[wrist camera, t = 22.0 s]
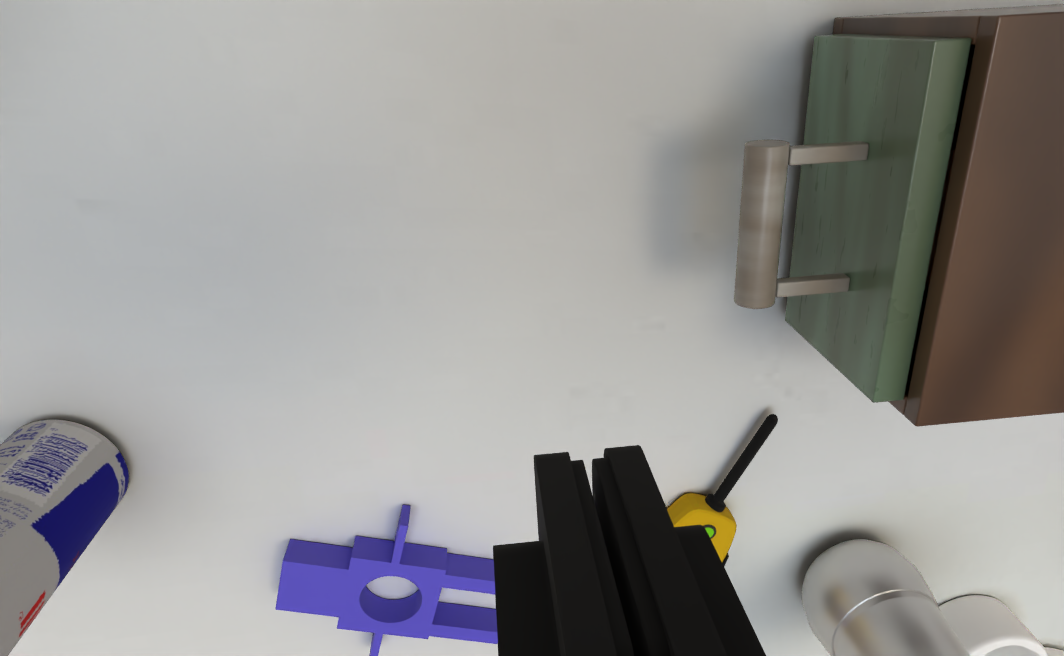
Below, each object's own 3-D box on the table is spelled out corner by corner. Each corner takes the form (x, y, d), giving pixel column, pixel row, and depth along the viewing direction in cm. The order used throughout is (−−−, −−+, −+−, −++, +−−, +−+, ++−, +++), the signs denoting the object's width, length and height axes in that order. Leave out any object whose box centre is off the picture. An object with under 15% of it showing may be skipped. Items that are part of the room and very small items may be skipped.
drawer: (693, 328, 32) (757, 414, 25) (706, 42, 27) (791, 48, 20) (1056, 297, 33) (1216, 371, 26) (1133, 16, 28) (1356, 13, 21)
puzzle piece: (485, 654, 41) (486, 678, 39) (276, 630, 39) (268, 654, 37) (526, 523, 37) (529, 544, 36) (298, 488, 35) (290, 509, 34)
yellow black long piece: (599, 627, 38) (744, 410, 33) (593, 600, 40) (730, 390, 35) (673, 649, 39) (824, 443, 34) (664, 622, 41) (807, 422, 36)
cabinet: (799, 322, 34) (915, 427, 25) (833, 17, 28) (999, 15, 19) (1083, 298, 35) (1292, 391, 26) (1170, -3, 29) (1474, -14, 20)
